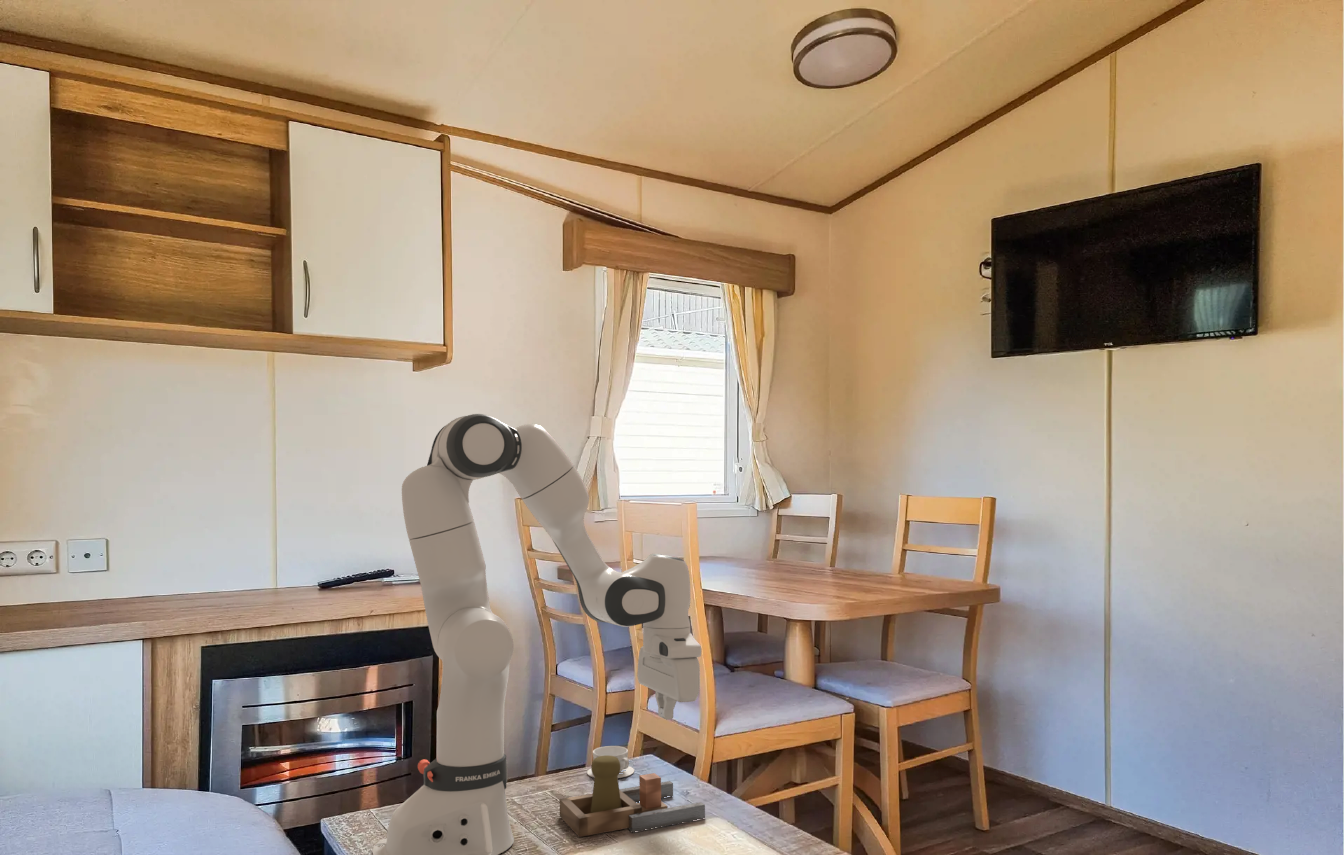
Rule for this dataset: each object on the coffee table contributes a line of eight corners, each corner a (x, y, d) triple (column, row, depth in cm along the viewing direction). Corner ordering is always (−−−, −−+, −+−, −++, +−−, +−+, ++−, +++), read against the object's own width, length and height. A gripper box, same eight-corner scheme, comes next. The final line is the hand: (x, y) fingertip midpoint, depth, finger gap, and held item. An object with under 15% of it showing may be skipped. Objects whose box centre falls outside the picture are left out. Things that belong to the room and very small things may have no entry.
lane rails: (632, 833, 147) (632, 817, 147) (601, 806, 161) (601, 792, 161) (705, 819, 153) (704, 804, 153) (669, 794, 167) (669, 781, 167)
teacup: (577, 775, 180) (576, 752, 181) (610, 763, 188) (610, 741, 188) (611, 784, 174) (610, 760, 174) (644, 772, 181) (643, 749, 182)
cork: (626, 815, 156) (625, 752, 157) (619, 827, 150) (618, 762, 151) (593, 814, 157) (593, 751, 158) (585, 826, 151) (585, 761, 152)
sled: (579, 837, 145) (578, 799, 146) (559, 816, 155) (559, 780, 156) (675, 819, 153) (675, 783, 153) (651, 800, 163) (650, 766, 163)
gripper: (630, 635, 169) (628, 707, 168) (673, 650, 151) (673, 731, 149) (659, 634, 172) (658, 705, 170) (706, 648, 153) (705, 728, 152)
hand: (665, 717), depth 160 cm, fingers closed
